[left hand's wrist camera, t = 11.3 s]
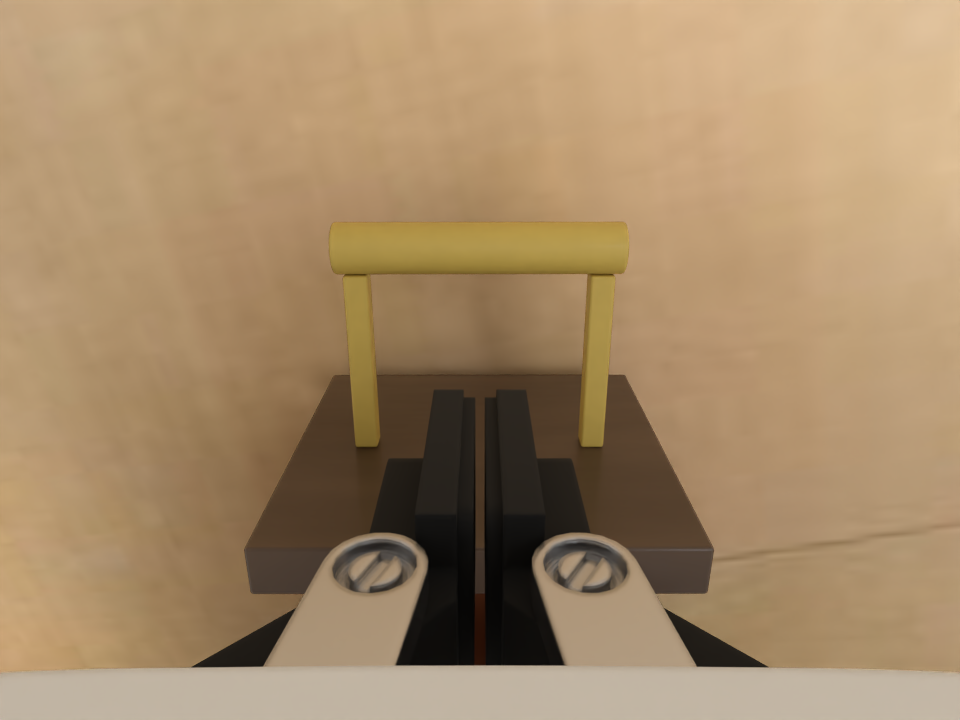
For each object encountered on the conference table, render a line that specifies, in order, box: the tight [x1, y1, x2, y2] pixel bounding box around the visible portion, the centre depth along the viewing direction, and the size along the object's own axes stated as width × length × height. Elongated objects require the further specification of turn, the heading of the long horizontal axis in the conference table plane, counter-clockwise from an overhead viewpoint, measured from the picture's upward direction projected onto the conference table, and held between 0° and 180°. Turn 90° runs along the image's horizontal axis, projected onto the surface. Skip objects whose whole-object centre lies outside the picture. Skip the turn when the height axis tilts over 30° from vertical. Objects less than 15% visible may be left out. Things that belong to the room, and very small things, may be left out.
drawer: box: [244, 222, 714, 666], centre depth 20 cm, size 23×10×9 cm, turn 0°
